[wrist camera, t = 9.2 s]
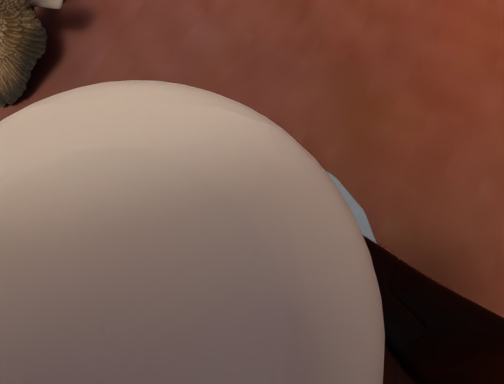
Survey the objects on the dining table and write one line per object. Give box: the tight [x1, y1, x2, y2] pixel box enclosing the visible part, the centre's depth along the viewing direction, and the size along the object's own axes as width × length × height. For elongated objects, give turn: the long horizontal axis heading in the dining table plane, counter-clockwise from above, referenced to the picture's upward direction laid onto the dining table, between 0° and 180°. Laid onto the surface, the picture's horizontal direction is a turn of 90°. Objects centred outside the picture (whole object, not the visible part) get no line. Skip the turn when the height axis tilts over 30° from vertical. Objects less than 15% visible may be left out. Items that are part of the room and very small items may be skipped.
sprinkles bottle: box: [0, 80, 385, 384], centre depth 9 cm, size 5×5×13 cm
